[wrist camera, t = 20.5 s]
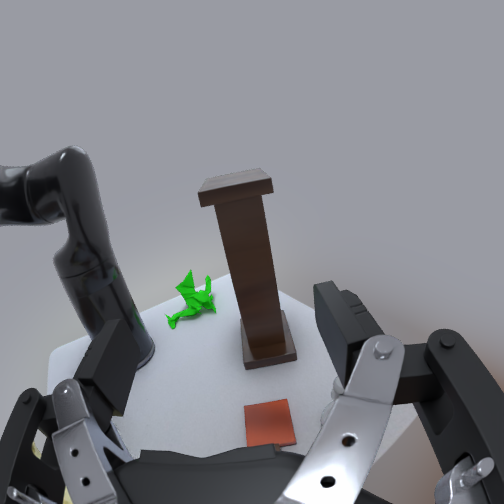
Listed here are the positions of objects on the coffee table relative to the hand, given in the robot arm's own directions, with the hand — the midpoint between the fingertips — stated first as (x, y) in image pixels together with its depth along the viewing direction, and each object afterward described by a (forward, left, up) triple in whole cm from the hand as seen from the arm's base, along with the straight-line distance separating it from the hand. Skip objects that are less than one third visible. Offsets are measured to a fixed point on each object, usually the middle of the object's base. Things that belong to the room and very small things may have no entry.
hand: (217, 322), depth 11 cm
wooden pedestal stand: (-17, +14, -21) cm, 30 cm away
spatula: (-1, +1, -21) cm, 21 cm away
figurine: (-30, +14, -19) cm, 38 cm away
